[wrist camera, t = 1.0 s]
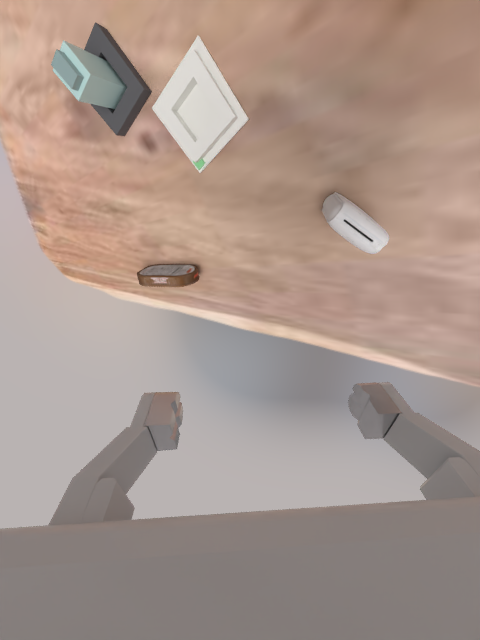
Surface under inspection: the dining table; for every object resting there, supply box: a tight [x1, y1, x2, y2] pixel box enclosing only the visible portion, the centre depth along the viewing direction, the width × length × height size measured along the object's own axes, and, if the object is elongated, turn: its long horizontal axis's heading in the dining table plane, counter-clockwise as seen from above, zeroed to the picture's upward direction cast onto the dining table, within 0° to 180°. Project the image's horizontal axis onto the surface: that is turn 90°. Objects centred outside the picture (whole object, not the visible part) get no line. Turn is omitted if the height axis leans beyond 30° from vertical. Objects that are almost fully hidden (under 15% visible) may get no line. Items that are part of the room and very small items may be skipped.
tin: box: [137, 264, 199, 287], centre depth 54 cm, size 15×3×8 cm, turn 94°
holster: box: [84, 22, 152, 136], centre depth 38 cm, size 9×9×2 cm
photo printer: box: [322, 192, 389, 254], centre depth 38 cm, size 10×4×12 cm, turn 60°
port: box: [152, 35, 249, 173], centre depth 37 cm, size 12×12×3 cm
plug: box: [51, 40, 127, 109], centre depth 34 cm, size 4×4×11 cm
